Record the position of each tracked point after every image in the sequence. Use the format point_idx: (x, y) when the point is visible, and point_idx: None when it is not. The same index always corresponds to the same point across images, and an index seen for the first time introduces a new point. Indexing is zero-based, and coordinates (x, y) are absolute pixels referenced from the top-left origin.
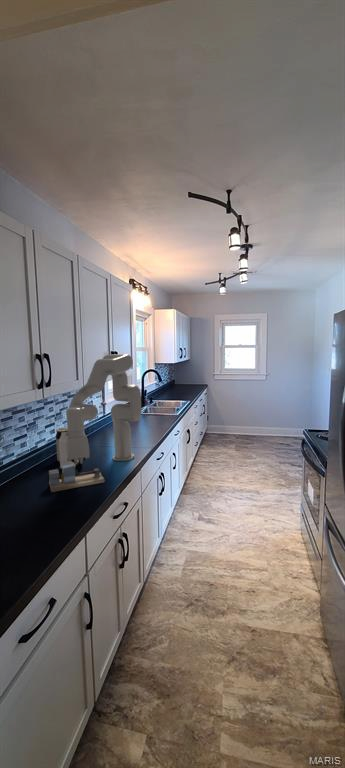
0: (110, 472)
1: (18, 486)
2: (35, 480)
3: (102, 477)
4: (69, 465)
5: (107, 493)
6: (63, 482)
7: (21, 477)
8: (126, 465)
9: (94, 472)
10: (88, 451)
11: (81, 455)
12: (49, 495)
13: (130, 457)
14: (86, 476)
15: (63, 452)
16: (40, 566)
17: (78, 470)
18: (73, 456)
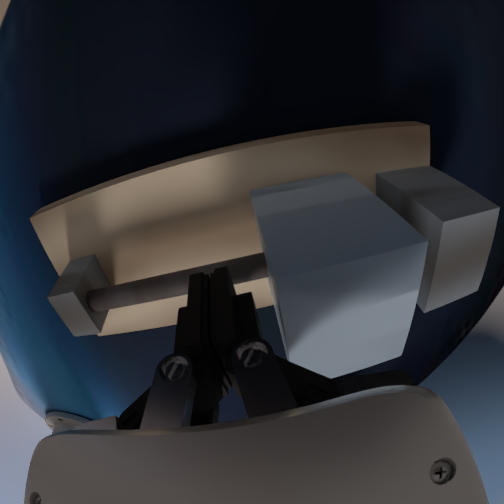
0: (64, 340)
1: (497, 261)
2: (441, 312)
3: (51, 252)
4: (338, 343)
5: (15, 15)
6: None
7: (461, 339)
8: (36, 380)
9: (90, 292)
10: (26, 501)
11: (136, 476)
12: (422, 71)
13: (50, 420)
14: (172, 297)
15: None
16: None
17: (221, 279)
18: (338, 460)
